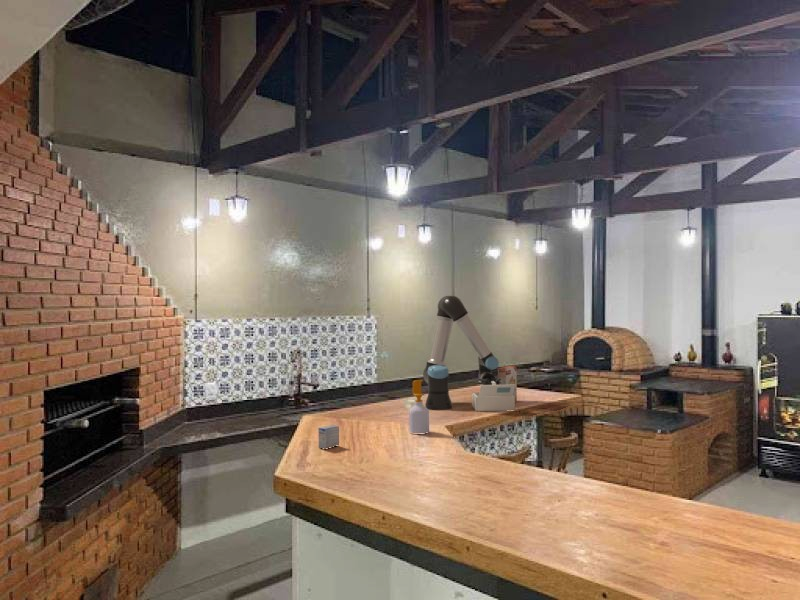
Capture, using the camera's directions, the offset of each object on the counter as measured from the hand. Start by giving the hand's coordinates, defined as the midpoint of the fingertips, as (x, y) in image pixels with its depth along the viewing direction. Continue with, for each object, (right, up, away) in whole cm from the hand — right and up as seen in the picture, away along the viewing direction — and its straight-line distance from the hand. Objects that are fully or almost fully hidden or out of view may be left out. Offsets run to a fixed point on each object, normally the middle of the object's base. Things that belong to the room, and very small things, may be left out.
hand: (494, 385), depth 312 cm
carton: (+1, -15, +11) cm, 18 cm away
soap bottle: (-42, -15, -46) cm, 64 cm away
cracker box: (+13, -15, +30) cm, 36 cm away
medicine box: (-81, -16, -70) cm, 108 cm away
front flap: (+1, -2, -1) cm, 3 cm away
